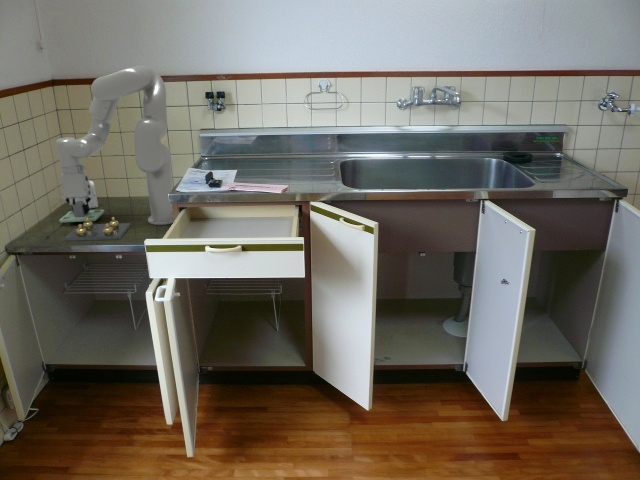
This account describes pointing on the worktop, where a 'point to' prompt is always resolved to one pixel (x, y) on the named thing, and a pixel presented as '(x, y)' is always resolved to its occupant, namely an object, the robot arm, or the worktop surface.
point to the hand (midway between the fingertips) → (81, 212)
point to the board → (78, 219)
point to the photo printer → (93, 201)
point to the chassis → (98, 231)
